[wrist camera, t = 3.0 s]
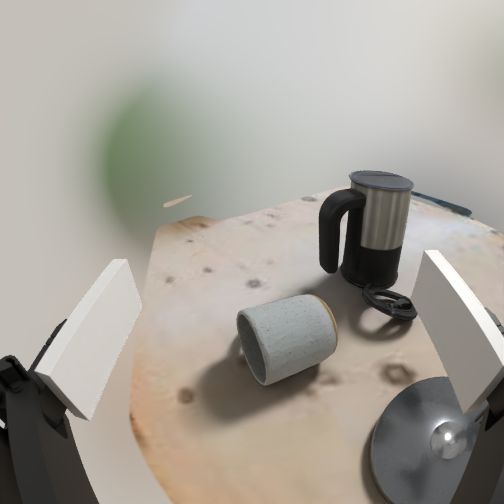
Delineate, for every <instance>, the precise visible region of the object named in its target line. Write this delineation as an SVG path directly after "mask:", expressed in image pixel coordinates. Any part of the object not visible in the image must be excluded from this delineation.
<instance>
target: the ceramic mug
mask: <svg viewBox="0 0 504 504" xmlns="http://www.w3.org/2000/svg"><path fill="white" fill-rule="evenodd" d="M237 330H238V335H239V339H240V343H241V347H242V350H243V353H244V356H245V359H246V361H247V363H248V365H249V367H250V370H251V372H252V373H253V375H254V377H255V378H256V379H257V381H258V382H259V383H260V384H261V385H264V386H266V385H270V384H272V383H274V382H277V381H279V380H281V379H284V378H286V377H288V376H291V375H293V374H296V373H298V372H300V371H302V370H304V369H306V368H309V367H311V366H313V365H316V364H318V363H320V362H322V361H323V360H325V359H326V358H328V357H329V356H330V355H331V354H333V352H334V351H335V349H336V346H337V342H338V330H337V324H336V321H335V319H334V316H333V314H332V312H331V310H330V308H329V307H328V306H327V304H326V303H325V302H324V301H323V300H321V299H320V298H319V297H317V296H315V295H311V294H308V295H298V296H293V297H290V298H286V299H283V300H280V301H276V302H272V303H268V304H264V305H260V306H256V307H251V308H247V309H244V310H241V311H239V313H238V315H237Z"/></svg>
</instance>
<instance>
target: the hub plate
mask: <svg viewBox="0 0 504 504" xmlns="http://www.w3.org/2000/svg"><path fill="white" fill-rule="evenodd" d="M487 405H488V402H487V399H486V400H485V401H484V402H483V403H482V404H481V405H480V407H479V408H477V409H475V410H472V411H470V412H467V413H465V414H463V412H462V409H461V406H460V404H459V401H458V399H457V396H456V394H455V391H454V389H453V386H452V384H451V381H450V379H449V377H434V378H428V379H425V380H421V381H419V382H417V383H414V384H412V385H411V386H409V387H407V388H405V389H404V390H403V391H402V392H400V393H399V394H398V395H397V396H396V397H395V398H394V399H393V400H392V401H391V402H390V403H389V405H388V406H387V407H386V409H385V410H384V412H383V414H382V415H381V417H380V418H379V420H378V422H377V424H376V426H375V428H374V431H373V434H372V437H371V442H370V449H369V463H370V469H371V474H372V477H373V480H374V482H375V485H376V487H377V488H378V490H379V492H380V493H381V495H382V496H383V497H384V498H385V499H386V500H387V501H388V502H389V503H390V504H450V502H451V500H452V498H453V496H454V494H455V491H456V489H457V487H458V485H459V483H460V481H461V478H462V476H463V474H464V471H465V469H466V466H467V464H468V461H469V458H470V456H471V453H472V450H473V447H474V444H475V441H476V438H477V435H478V432H479V428H480V425H481V424H479V422H480V421H481V420H482V418H483V416H482V417H481V418H480V419H479V420H478V421H477V422H474V421H475V419H476V417H477V416H478V415H479V414H480V413H481V412H482V411H483V410H484V409H485V408H486V407H487Z"/></svg>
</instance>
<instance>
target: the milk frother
mask: <svg viewBox="0 0 504 504" xmlns="http://www.w3.org/2000/svg"><path fill="white" fill-rule="evenodd" d="M349 177H350V179H351V188H350V189H344V190H339V191H336V192H334V193H332V194H331V195H330V196H328V197H327V198H326V200H325V201H324V202H323V204H322V206H321V209H320V212H319V261H320V265H321V267H322V268H323V269H324V270H325V271H326V272H327V273H330V274H332V273H335V272H336V271H337V269H338V259H339V242H340V222H341V219H342V217H343V215H344V214H345V213H346V212H347V211H348V210H349V211H348V222H347V232H346V240H345V249H344V256H343V262H342V264H341V272H342V274H343V275H344V277H345V278H346V279H347V280H348V281H350V282H351V283H353V284H355V285H357V286H360V287H363V288H364V290H363V292H362V297H363V298H364V300H365V301H366V302H367V303H368V304H369V305H371V306H372V307H373V308H375V309H377V310H379V311H380V312H382V313H385V314H387V315H389V316H392V317H395V318H398V319H403V320H412V319H414V318H415V317H416V316H417V314H418V313H417V311H416V309H415V307H414V306H413V304H412V302H411V300H410V299H409V298H408V297H406V296H402V295H400V294H398V293H395V292H392V291H389V290H385V289H382V288H386V287H389V286H391V285H392V284H394V283H395V281H396V280H397V277H398V272H397V270H398V265H399V260H400V254H401V249H402V244H403V239H404V234H405V229H406V223H407V217H408V210H409V204H410V196H411V189H412V188H413V187H414V184H413V182H412V181H410V180H409V179H406V178H404V177H402V176H399V175H396V174H392V173H388V172H381V171H356V172H352V173H351V174H349ZM375 295H380V296H385V297H389V298H392V299H395V300H397V301H394V302H393V303H389V304H388V305H386V304H384V303H383V302H381V301H379V300H378V299H376V298H375V297H374V296H375Z"/></svg>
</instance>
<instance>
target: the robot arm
mask: <svg viewBox="0 0 504 504" xmlns="http://www.w3.org/2000/svg"><path fill="white" fill-rule="evenodd" d="M410 300H411V302H412V304H413V306H414V307H415V309H416V311H417V313H418V315H419V317H420V318H421V320H422V322H423V324H424V326H425V328H426V330H427V332H428V334H429V336H430V338H431V340H432V342H433V344H434V346H435V348H436V350H437V352H438V355H439V357H440V359H441V361H442V363H443V365H444V368H445V370H446V372H447V374H448V377H449V379H450V381H451V384H452V386H453V389H454V391H455V394H456V396H457V399H458V401H459V404H460V406H461V409H462V412H463V414H465V413H467V412H470V411H472V410H475V409H477V408H479V407H480V405H481V404H482V403H483V402H484V401H485V400H486V399H487V402H488V405H487V407H486V408H485V409H484V410H483V411H482V412H481V413H480V414H479V415H478V416H477V417H476V419H475V421H474V422H477V421H478V420H479V419H480V418H481V417H482V416H483V418H482V420H481V421H480V422H479V424H481V425H480V428H479V432H478V435H477V438H476V441H475V444H474V447H473V450H472V453H471V456H470V458H469V461H468V464H467V466H466V469H465V471H464V474H463V476H462V478H461V481H460V483H459V485H458V487H457V489H456V491H455V494H454V496H453V498H452V500H451V502H450V504H504V327H503V326H501V323H500V321H499V320H498V318H497V317H496V316H495V314H493V313H492V312H491V311H490V310H489V309H487V308H486V307H485V308H484V307H483V306H482V305H481V303H480V302H479V300H478V299H477V298H476V296H475V295H474V294H473V293H472V291H471V290H470V289H469V287H468V286H467V285H466V283H465V282H464V281H463V280H462V278H461V277H460V276H459V275H458V274H457V272H456V271H455V270H454V269H453V268H452V266H451V265H450V264H449V263H448V262H447V260H446V259H445V258H444V257H443V256H442V255H441V254H440V252H439V251H438V250H424V253H423V257H422V261H421V265H420V268H419V272H418V276H417V279H416V283H415V286H414V289H413V293H412V296H411V299H410ZM142 308H143V305H142V302H141V299H140V297H139V294H138V291H137V289H136V285H135V282H134V279H133V276H132V273H131V271H130V267H129V264H128V261H127V259H113V260H112V261H111V263H110V264H109V265H108V266H107V268H106V269H105V270H104V271H103V273H102V274H101V275H100V276H99V278H98V279H97V280H96V282H95V283H94V284H93V285H92V287H91V288H90V289H89V291H88V292H87V293H86V295H85V296H84V297H83V299H82V300H81V302H80V303H79V304H78V306H77V307H76V308H75V310H74V311H73V312H72V314H71V315H70V317H69V318H68V319H65V320H64V321H63V322H62V323H61V324H59V325H58V326H57V327H56V329H55V330H54V331H53V333H52V334H51V338H49V339H48V340H47V342H46V345H44V346H43V348H42V350H41V351H40V353H39V354H38V356H37V357H36V359H35V360H34V362H33V364H32V365H31V367H30V369H29V370H28V372H27V371H26V370H25V368H24V367H23V366H22V365H21V364H20V362H19V361H18V359H17V358H16V357H15V356H12V355H9V356H5V357H3V358H2V359H0V419H1V420H2V421H3V422H4V423H5V427H4V429H3V428H2V427H1V426H0V504H99V502H98V500H97V498H96V496H95V494H94V491H93V489H92V487H91V484H90V482H89V480H88V477H87V475H86V472H85V469H84V467H83V464H82V461H81V459H80V456H79V453H78V450H77V447H76V444H75V440H74V437H73V434H72V430H71V427H70V423H69V420H68V418H67V416H66V414H65V411H66V409H68V410H69V411H70V412H71V413H73V415H74V416H76V417H79V418H82V419H85V420H88V421H90V420H91V418H92V416H93V413H94V411H95V408H96V406H97V404H98V401H99V399H100V397H101V394H102V392H103V390H104V387H105V385H106V383H107V380H108V378H109V376H110V374H111V372H112V369H113V367H114V365H115V363H116V361H117V359H118V356H119V354H120V352H121V350H122V348H123V346H124V344H125V342H126V340H127V338H128V336H129V334H130V332H131V330H132V328H133V325H134V323H135V322H136V320H137V318H138V316H139V314H140V312H141V310H142Z"/></svg>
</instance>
